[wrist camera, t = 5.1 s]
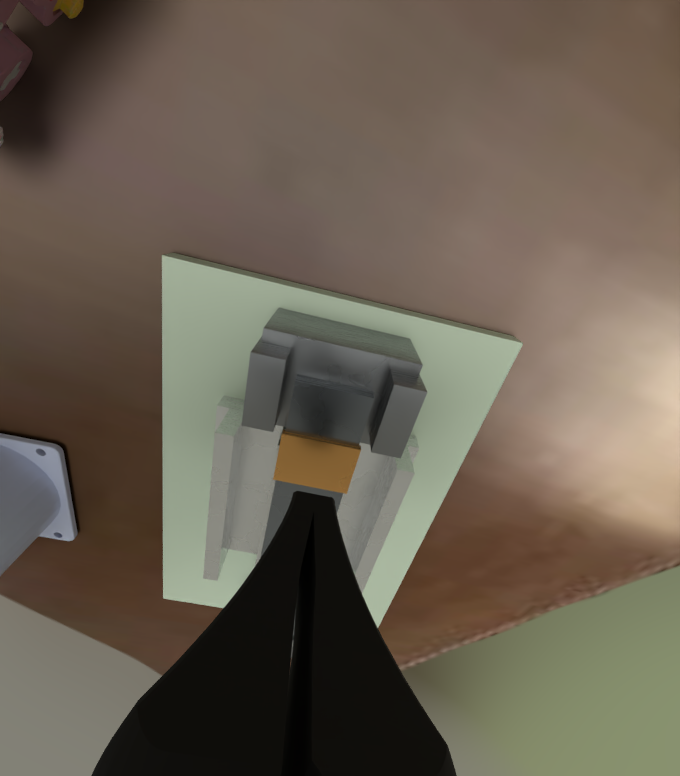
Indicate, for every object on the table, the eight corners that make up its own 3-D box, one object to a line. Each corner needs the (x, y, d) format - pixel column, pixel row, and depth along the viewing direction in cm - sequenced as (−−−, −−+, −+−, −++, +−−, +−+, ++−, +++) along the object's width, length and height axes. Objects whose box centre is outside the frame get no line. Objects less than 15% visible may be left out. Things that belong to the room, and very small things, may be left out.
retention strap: (247, 617, 20) (244, 631, 20) (294, 373, 13) (291, 382, 12) (300, 625, 21) (298, 640, 20) (375, 391, 13) (377, 401, 13)
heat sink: (211, 531, 21) (192, 576, 19) (223, 395, 17) (200, 429, 14) (365, 558, 22) (367, 605, 20) (415, 436, 18) (427, 475, 15)
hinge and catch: (233, 588, 24) (212, 657, 20) (276, 306, 15) (252, 338, 11) (319, 603, 25) (314, 672, 21) (412, 339, 15) (432, 379, 12)
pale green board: (169, 585, 26) (163, 598, 25) (173, 252, 15) (161, 255, 14) (374, 618, 27) (375, 632, 26) (513, 336, 16) (523, 343, 15)
